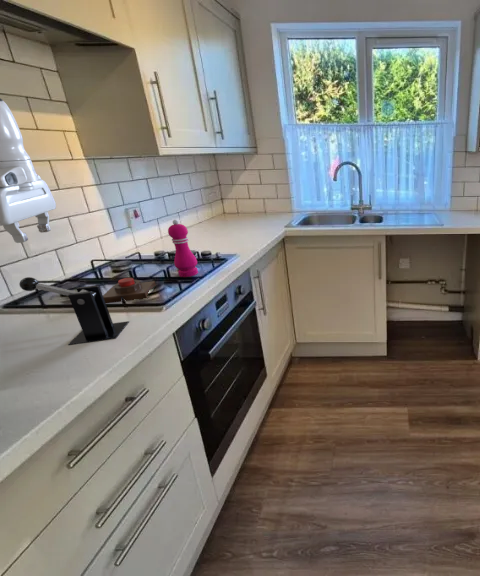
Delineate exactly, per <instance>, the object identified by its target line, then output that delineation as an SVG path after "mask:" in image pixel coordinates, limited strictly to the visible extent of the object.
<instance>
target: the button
mask: <svg viewBox="0 0 480 576" xmlns="http://www.w3.org/2000/svg"><path fill="white" fill-rule="evenodd" d="M134 280H135V279H134V278H133V277H124V278H121V279H119V280H118V282H117V283H119V286H120V287H125V286H130V285H133V284H135V282H134Z"/></svg>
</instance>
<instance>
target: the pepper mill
mask: <svg viewBox="0 0 480 576" xmlns="http://www.w3.org/2000/svg"><path fill="white" fill-rule="evenodd" d="M188 234H189V230H188V228H187V226H186V225H184V224H182V223H179V220H178V219H173V220H172V224H171V225H170V226H169V227H168V228H167V235H168V236H169V237H170V238H172V239H171V241H172V244H173V245H174V249H175V254H174V259H173V260H174V261H173V263H174V266H175V268H176V269H178V271H177V273H178V276H179V277H180V278H189V277H194V276H196V275H198V274H199V270H198V267H196V266H197V265H198V259H197V257H196V256H195V254H194V253H193V252H192V250H191V249H190V246H189V243H188V242H189V237H188Z"/></svg>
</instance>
